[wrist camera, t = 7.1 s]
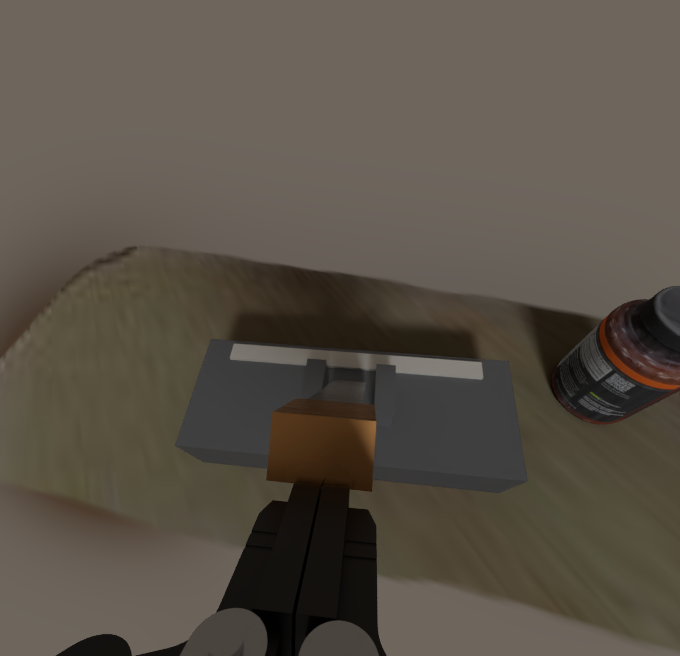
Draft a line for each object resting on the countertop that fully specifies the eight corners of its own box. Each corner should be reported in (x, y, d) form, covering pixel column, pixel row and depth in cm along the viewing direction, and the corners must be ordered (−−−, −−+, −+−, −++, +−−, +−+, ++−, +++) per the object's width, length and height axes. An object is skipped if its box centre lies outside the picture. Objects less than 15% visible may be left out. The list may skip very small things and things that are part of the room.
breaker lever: (371, 381, 24) (376, 421, 9) (369, 408, 24) (371, 491, 9) (330, 378, 24) (272, 411, 10) (328, 404, 24) (266, 480, 10)
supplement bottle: (621, 366, 30) (743, 281, 21) (632, 435, 27) (781, 373, 18) (546, 352, 31) (630, 264, 22) (549, 416, 28) (648, 348, 19)
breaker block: (486, 388, 30) (525, 340, 23) (499, 492, 26) (550, 471, 19) (230, 367, 32) (196, 317, 25) (202, 461, 28) (152, 432, 21)
